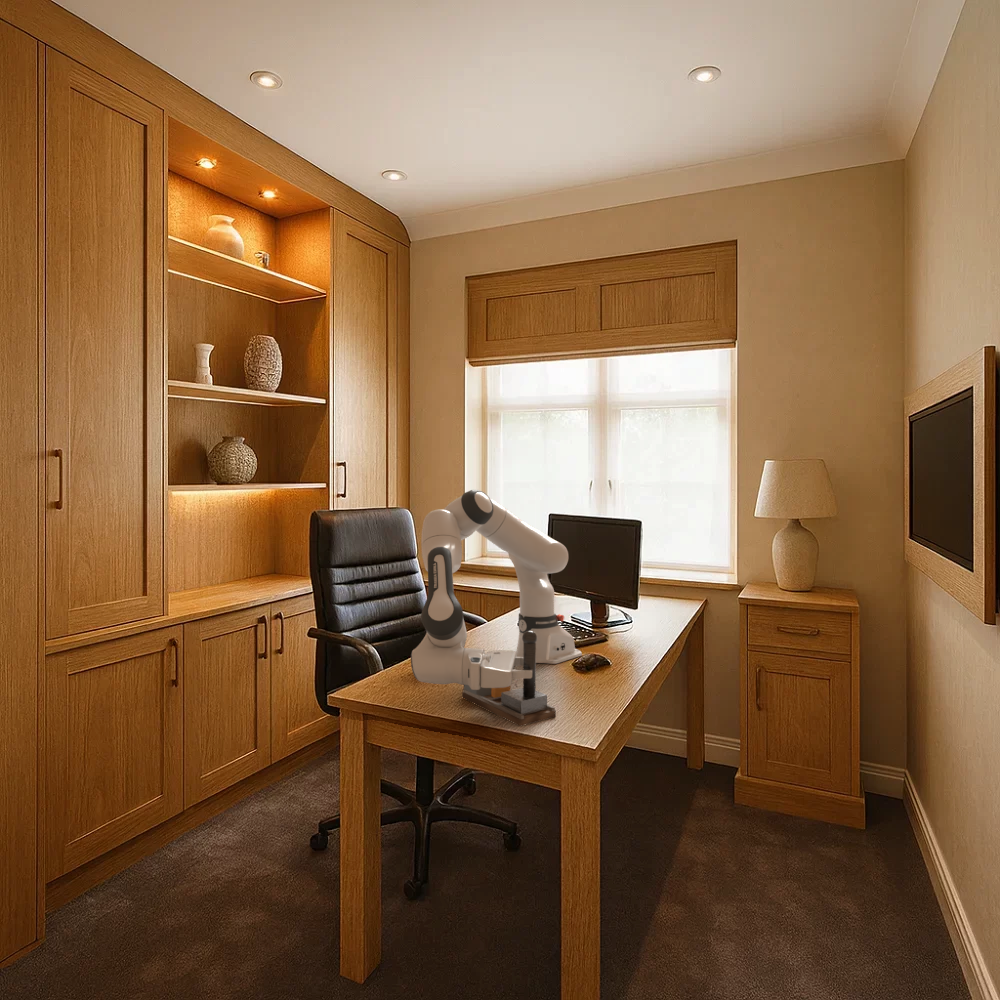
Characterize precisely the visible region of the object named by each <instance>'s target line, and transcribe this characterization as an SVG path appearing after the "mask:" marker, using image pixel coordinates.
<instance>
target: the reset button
mask: <svg viewBox="0 0 1000 1000" xmlns="http://www.w3.org/2000/svg"><path fill="white" fill-rule="evenodd" d="M511 686H512V685H511ZM511 686H509V687H505V688H491V696H492V697H494V698H496V697H500V696H501V693H502V692H506V691H511V689H512V688H511Z"/></svg>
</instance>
